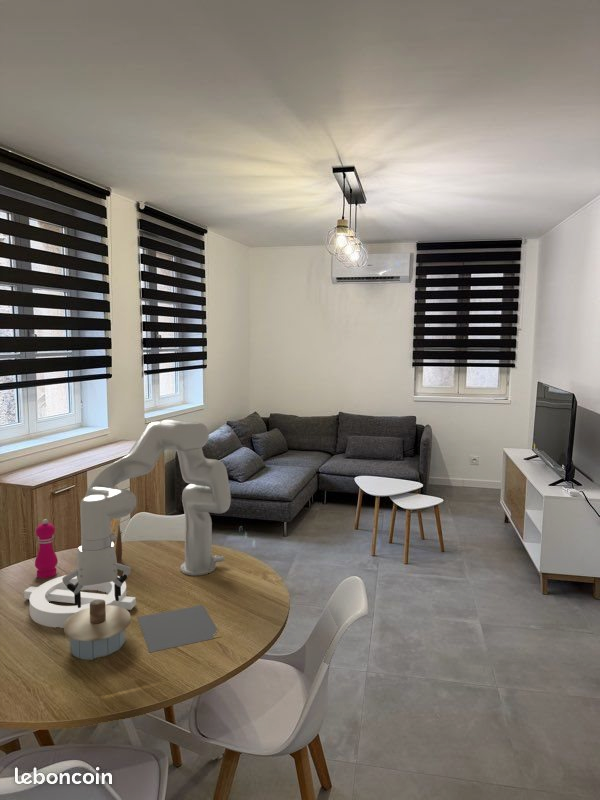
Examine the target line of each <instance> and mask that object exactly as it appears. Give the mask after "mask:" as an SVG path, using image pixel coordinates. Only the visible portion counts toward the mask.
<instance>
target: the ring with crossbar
mask: <svg viewBox="0 0 600 800" xmlns="http://www.w3.org/2000/svg"><path fill="white" fill-rule="evenodd" d="M66 575H67V574H65V575H61V576H57V577H55V578H52V579H50V580H48V581H45V582H44V583H42V584H40V585H39V586H29V587H28V588H26V589H25V590H24V591H23V598H24V599H23V600H29V616H30V618H31V619H32V620H33V622H35V623H37V624H38V625H41V626H44V627H50V628H56V627H60V629H61V628H62V629H64V623H65V621H66V620H67V619H68V618H69V617H70V616H71V615H73V614H74V613H76V612H78V611H81V610H83V609H86V608H90V602H92V601H94V600H99V599H100V600H104V601H105V605H112V606H118V607H122V608H124V609H126V610H127V611H129V610H130V611H131V610H133V608H134V607H135V606H136V603H137V601H136V599H137V598H136V597H134V596H127V583H126V580H125V581H124V582H123V584H122V586H121V596H119V601H116V599H115V591H114V584H115V583H114V582H113V581H112V582H107V583H101V584H95V585H89V586H83V587H82V589H81V591H80V594H81V607H80V608H78V604H76V605H58V604H54V603H51V602H59V603H68V604H75V597H74V593H73V592H72V591H70V590H69V589H68V588H67V587H66V585H65V584H64V583H63V580H62V578H63V577H64V576H66ZM117 576H118V577H120V576H119V575H117ZM70 582H71V583H72V584H74V585H75V584H76V583H77V582H78V580H77V576H76V577H74V578H72V579H71V580H70ZM97 590H98V592H103V593H98V592H97V593H96V592H86V591H97ZM105 592H106V594H105ZM49 602H50V603H49Z"/></svg>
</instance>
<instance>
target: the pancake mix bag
mask: <svg viewBox="0 0 600 800" xmlns="http://www.w3.org/2000/svg"><path fill="white" fill-rule="evenodd" d="M113 488H118V486H117V485H115V486H114V487H113ZM121 518H122V517H120V518H116V519H112V520H111V534H112V535H117V540H114V541H113V543H114V546H115V553H116V559H117V563H119V564H122V557H123V543H122V533H121V525H120V522H121Z"/></svg>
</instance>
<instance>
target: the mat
mask: <svg viewBox="0 0 600 800" xmlns="http://www.w3.org/2000/svg"><path fill="white" fill-rule="evenodd" d="M137 620H138V623H139V626H140V629H141V633H142V635H143V638H144V640H145V643H146V647H147V649H148V652H149V653H155V652H159V651H163V650H167V649H172V648H173V649H174V648H178V647H181V646H187V645H191V644H195V643H201V642H204V641H209V640H214V639H213V638H214V637H213V636H215V635H216V634H215V632H216V630H217V631H219V630H218V628H217V626H216V625H215V623H214V621H213V620H212V617H211V616H210V614H209V613H208V611H207V609H206V608H205V606H204V604H201V605H196V606H195V605H194V606H190V607H184V608H179V609H174V610H168V611H163V612H158V613H152V614H148V615H142V616H138V617H137ZM216 633H217V632H216ZM213 634H215V635H213Z"/></svg>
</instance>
